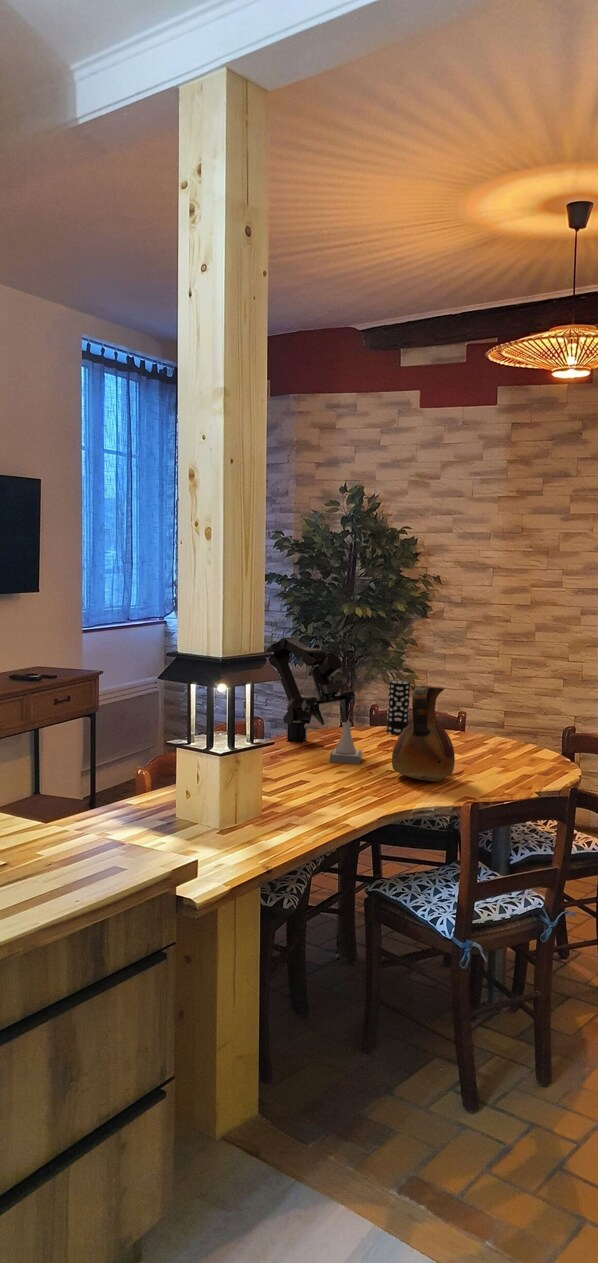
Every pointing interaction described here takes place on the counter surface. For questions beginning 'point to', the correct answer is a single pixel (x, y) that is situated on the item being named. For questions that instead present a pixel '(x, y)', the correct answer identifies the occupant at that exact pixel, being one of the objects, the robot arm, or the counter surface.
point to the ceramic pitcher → (424, 741)
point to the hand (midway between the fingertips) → (335, 722)
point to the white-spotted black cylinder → (398, 706)
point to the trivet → (346, 757)
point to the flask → (346, 740)
